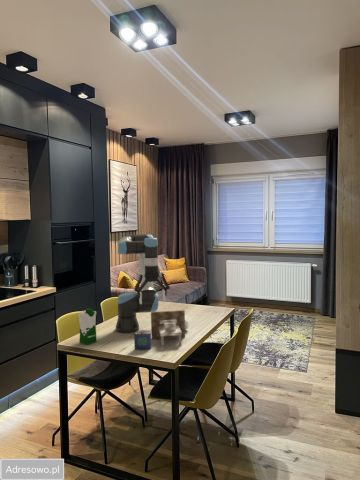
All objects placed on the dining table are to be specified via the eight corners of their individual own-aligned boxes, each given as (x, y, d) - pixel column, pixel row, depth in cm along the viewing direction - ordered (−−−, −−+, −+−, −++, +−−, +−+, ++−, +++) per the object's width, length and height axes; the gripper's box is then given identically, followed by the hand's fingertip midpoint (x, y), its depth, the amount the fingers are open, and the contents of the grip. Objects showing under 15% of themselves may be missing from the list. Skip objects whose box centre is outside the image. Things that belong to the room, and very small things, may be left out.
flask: (151, 347, 203) (150, 328, 202) (151, 349, 200) (150, 330, 199) (134, 348, 202) (133, 329, 201) (134, 350, 199) (133, 331, 198)
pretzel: (191, 328, 237) (190, 314, 236) (186, 334, 225) (186, 320, 225) (174, 327, 240) (174, 314, 239) (168, 333, 228) (168, 319, 228)
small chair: (153, 347, 203) (153, 319, 202) (151, 338, 219) (150, 311, 218) (189, 344, 206) (188, 316, 205) (184, 336, 222) (184, 310, 221)
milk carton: (86, 345, 208) (85, 311, 207) (77, 342, 214) (75, 308, 212) (99, 341, 215) (97, 307, 213) (89, 338, 220) (88, 305, 219)
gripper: (130, 267, 199) (132, 305, 200) (174, 264, 207) (175, 301, 208) (128, 265, 206) (129, 303, 207) (170, 263, 214) (171, 299, 215)
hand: (152, 302), depth 208 cm, fingers open, 13 cm apart
